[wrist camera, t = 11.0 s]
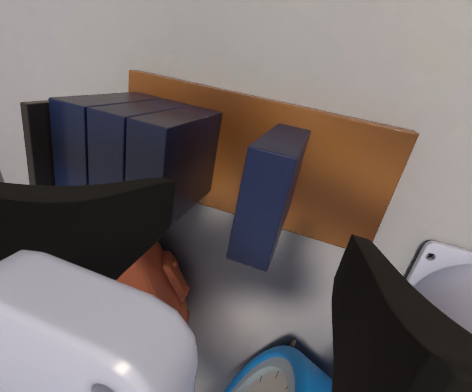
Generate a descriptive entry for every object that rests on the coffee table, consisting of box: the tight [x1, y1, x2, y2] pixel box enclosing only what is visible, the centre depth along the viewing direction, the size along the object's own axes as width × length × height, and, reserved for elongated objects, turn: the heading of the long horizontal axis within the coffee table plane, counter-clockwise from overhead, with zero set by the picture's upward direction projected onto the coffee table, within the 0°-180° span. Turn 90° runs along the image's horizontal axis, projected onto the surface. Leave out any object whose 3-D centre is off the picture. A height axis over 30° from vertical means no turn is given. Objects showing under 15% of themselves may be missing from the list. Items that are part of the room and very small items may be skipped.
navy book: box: [226, 123, 311, 272], centre depth 16 cm, size 6×2×7 cm, turn 169°
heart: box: [116, 241, 190, 323], centre depth 25 cm, size 6×12×15 cm
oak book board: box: [20, 70, 419, 248], centre depth 16 cm, size 8×18×9 cm, turn 79°
